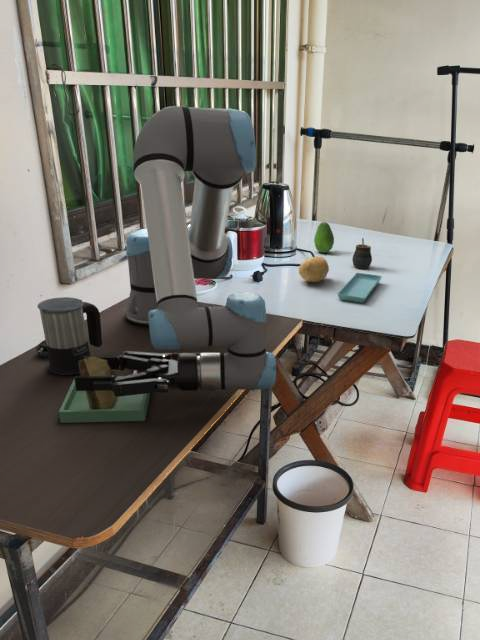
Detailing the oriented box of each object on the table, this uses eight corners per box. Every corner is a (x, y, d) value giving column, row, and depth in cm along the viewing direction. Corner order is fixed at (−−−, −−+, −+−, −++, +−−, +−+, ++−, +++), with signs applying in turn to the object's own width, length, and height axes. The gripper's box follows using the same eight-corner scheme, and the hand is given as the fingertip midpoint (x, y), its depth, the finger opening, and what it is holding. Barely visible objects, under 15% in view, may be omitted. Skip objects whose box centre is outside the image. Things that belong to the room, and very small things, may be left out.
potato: (333, 278, 207) (334, 255, 203) (320, 288, 196) (322, 264, 192) (307, 274, 210) (308, 251, 206) (293, 284, 198) (294, 260, 194)
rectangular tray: (364, 304, 184) (365, 296, 182) (336, 300, 186) (337, 292, 184) (381, 283, 206) (382, 275, 204) (356, 279, 208) (356, 272, 206)
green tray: (76, 386, 124) (74, 376, 123) (151, 385, 127) (151, 375, 125) (60, 423, 111) (58, 411, 110) (144, 420, 113) (143, 409, 112)
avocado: (309, 251, 238) (311, 221, 233) (323, 249, 243) (325, 219, 237) (323, 256, 234) (325, 225, 228) (337, 253, 238) (339, 223, 232)
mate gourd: (354, 270, 218) (357, 242, 213) (349, 264, 225) (351, 237, 220) (373, 270, 220) (376, 242, 215) (367, 264, 226) (369, 238, 221)
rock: (107, 372, 124) (65, 381, 117) (124, 347, 119) (80, 355, 111) (134, 413, 123) (92, 425, 115) (152, 390, 118) (109, 401, 110)
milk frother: (79, 378, 127) (69, 312, 120) (12, 369, 129) (-2, 304, 122) (110, 354, 140) (103, 293, 132) (49, 346, 142) (38, 285, 134)
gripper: (198, 413, 111) (72, 416, 107) (200, 366, 129) (92, 367, 126) (196, 377, 107) (65, 379, 104) (198, 334, 126) (87, 334, 122)
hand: (80, 373), depth 115 cm, fingers closed on rock, 9 cm apart
